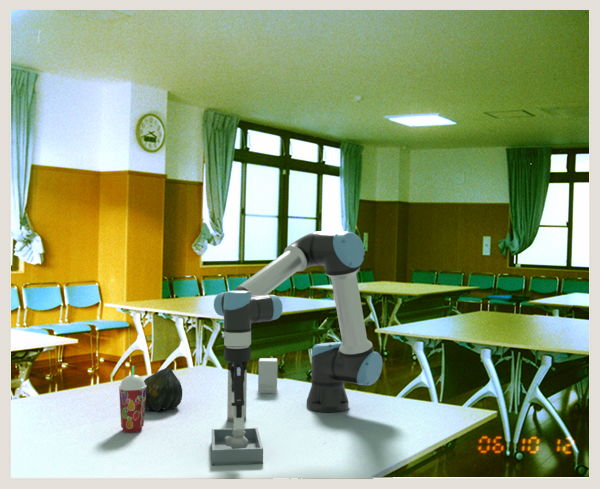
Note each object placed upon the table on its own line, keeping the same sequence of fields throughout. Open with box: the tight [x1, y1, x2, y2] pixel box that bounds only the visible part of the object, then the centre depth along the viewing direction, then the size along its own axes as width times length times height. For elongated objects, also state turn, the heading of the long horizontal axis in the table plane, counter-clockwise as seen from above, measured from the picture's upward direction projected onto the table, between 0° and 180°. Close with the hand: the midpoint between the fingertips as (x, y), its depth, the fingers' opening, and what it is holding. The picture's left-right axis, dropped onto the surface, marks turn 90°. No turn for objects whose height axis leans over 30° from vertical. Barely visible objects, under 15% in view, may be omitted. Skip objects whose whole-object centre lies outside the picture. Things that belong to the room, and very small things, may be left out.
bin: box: [211, 427, 264, 466], centre depth 181 cm, size 13×19×4 cm
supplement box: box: [257, 357, 278, 394], centre depth 256 cm, size 7×7×13 cm
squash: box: [143, 367, 183, 412], centre depth 228 cm, size 14×15×15 cm
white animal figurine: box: [225, 428, 248, 449], centre depth 181 cm, size 5×7×8 cm
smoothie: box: [118, 365, 147, 434], centre depth 201 cm, size 8×8×20 cm
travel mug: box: [226, 361, 249, 423], centre depth 215 cm, size 6×7×20 cm
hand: (237, 421), depth 181 cm, fingers open, 13 cm apart
